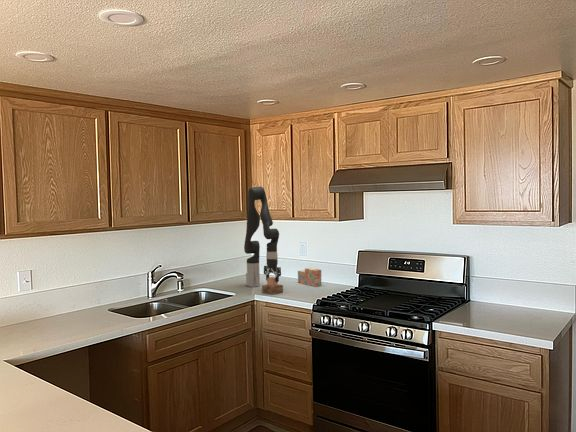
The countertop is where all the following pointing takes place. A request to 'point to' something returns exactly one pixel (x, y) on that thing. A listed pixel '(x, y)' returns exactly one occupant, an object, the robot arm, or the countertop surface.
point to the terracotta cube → (271, 282)
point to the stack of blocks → (310, 277)
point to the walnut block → (272, 289)
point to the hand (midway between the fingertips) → (272, 281)
